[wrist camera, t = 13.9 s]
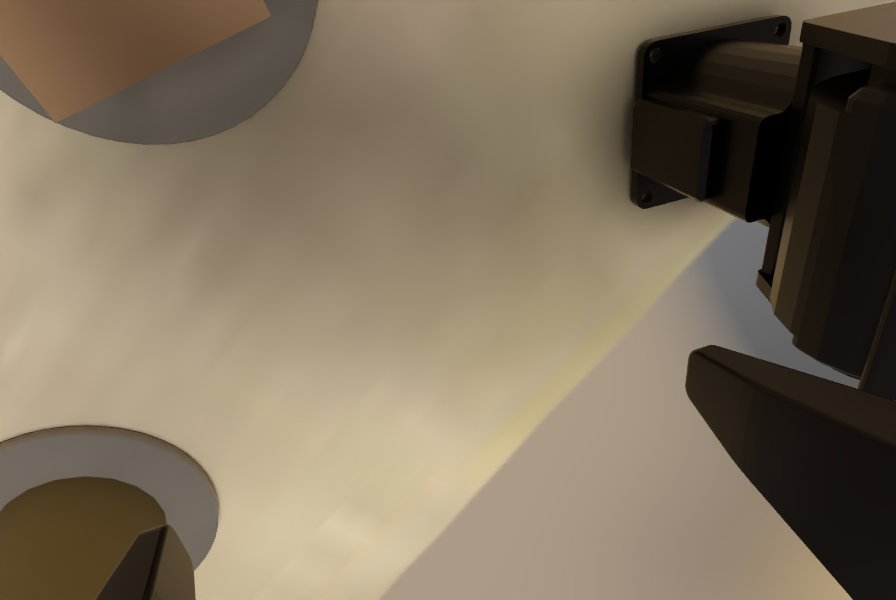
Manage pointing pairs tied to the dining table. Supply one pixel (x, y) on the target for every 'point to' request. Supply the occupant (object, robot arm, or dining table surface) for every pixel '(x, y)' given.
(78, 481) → the brown rounded piece
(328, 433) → the dining table surface
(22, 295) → the dining table surface
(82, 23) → the walnut cube
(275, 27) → the coaster
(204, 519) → the coaster empty
